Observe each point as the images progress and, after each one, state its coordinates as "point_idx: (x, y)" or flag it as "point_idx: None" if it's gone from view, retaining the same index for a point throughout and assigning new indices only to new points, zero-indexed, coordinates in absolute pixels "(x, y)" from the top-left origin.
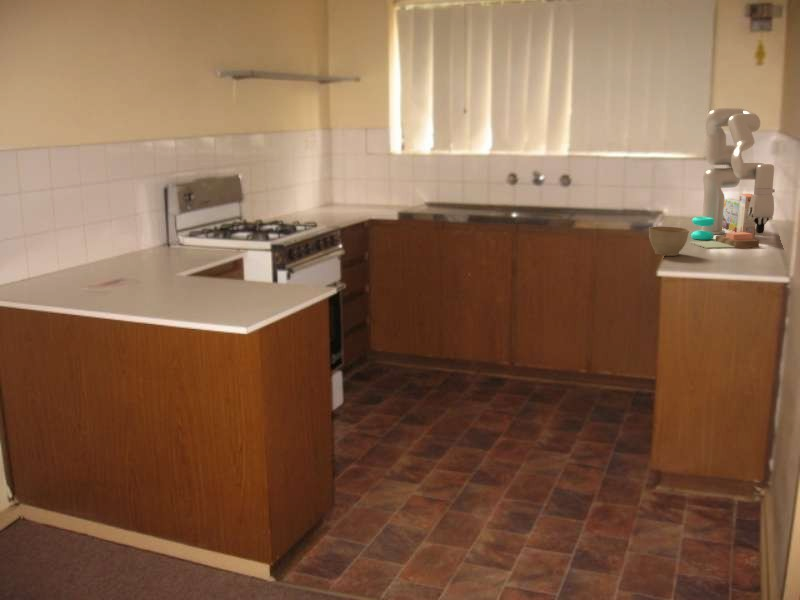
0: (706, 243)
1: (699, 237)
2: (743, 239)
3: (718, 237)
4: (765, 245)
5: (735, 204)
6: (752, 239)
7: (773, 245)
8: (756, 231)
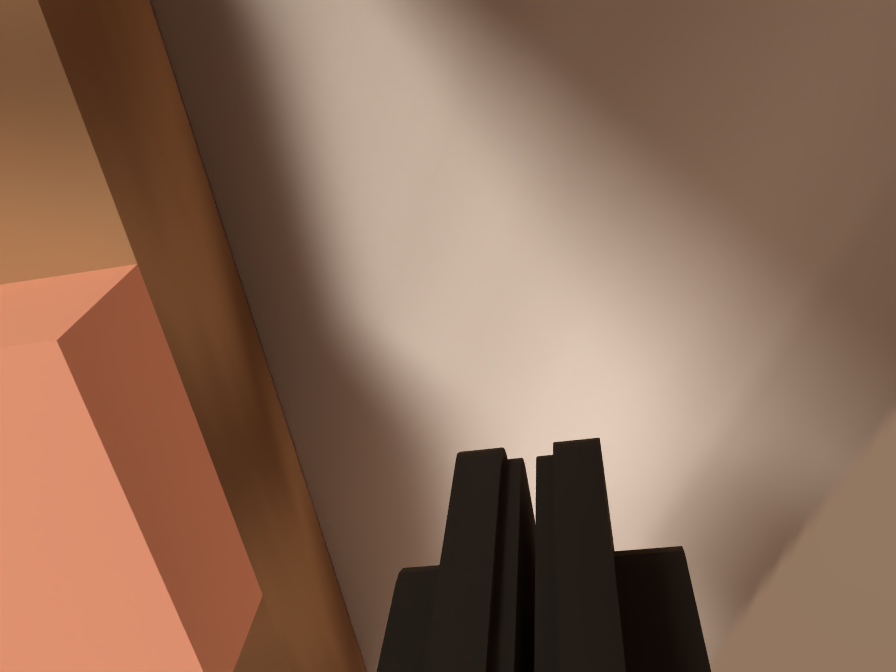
0: None
1: None
2: None
3: None
4: (643, 473)
5: None
6: (248, 665)
7: (842, 479)
8: (457, 482)
